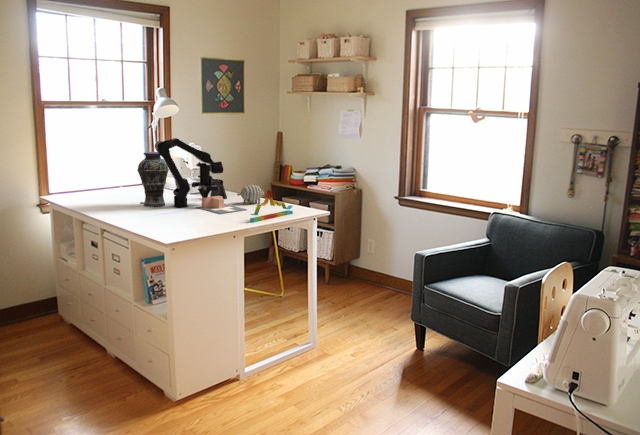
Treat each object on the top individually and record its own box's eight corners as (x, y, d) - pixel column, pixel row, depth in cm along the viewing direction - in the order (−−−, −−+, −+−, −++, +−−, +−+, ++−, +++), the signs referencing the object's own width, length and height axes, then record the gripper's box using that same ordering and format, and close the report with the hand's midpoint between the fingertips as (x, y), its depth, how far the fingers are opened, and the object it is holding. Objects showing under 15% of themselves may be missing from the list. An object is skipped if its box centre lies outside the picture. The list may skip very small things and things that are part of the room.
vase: (132, 206, 338) (130, 152, 332) (153, 201, 353) (152, 150, 347) (154, 209, 331) (152, 154, 325) (175, 204, 346) (174, 152, 340)
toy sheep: (267, 203, 355) (267, 185, 353) (242, 206, 346) (241, 187, 344) (259, 200, 364) (259, 182, 362) (234, 203, 355) (233, 184, 352)
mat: (220, 214, 322) (220, 213, 322) (196, 207, 337) (196, 206, 337) (247, 210, 334) (247, 209, 334) (222, 204, 350) (222, 203, 350)
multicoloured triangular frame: (288, 213, 330) (288, 186, 327) (292, 214, 328) (293, 187, 325) (249, 222, 306) (249, 192, 303) (254, 222, 304) (254, 193, 301)
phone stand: (215, 200, 362) (215, 180, 360) (209, 199, 366) (209, 179, 364) (227, 198, 369) (227, 179, 366) (221, 197, 373) (221, 178, 370)
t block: (212, 209, 331) (212, 200, 330) (201, 206, 339) (201, 197, 338) (230, 206, 340) (230, 198, 339) (219, 204, 347) (219, 195, 346)
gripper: (226, 174, 342) (226, 201, 345) (206, 171, 355) (207, 197, 358) (209, 176, 334) (210, 203, 338) (190, 172, 347) (191, 199, 350)
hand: (205, 200), depth 346 cm, fingers closed
